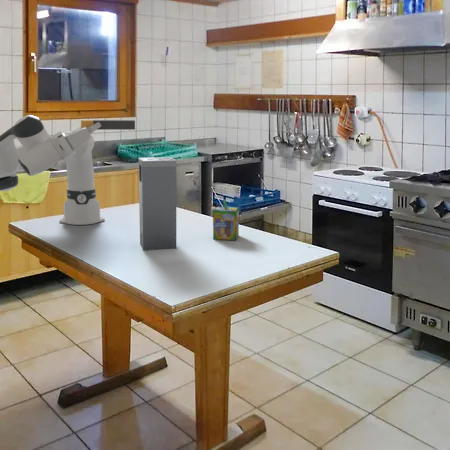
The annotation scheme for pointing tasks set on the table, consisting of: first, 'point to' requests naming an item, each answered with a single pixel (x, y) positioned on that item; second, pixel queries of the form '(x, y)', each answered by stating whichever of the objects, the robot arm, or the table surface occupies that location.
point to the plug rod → (110, 124)
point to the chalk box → (225, 222)
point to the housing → (157, 203)
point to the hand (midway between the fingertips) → (99, 123)
